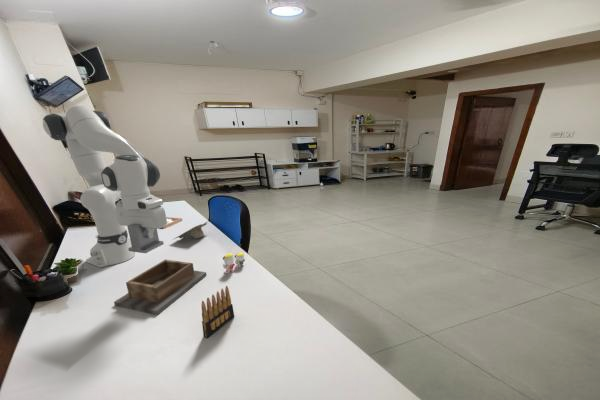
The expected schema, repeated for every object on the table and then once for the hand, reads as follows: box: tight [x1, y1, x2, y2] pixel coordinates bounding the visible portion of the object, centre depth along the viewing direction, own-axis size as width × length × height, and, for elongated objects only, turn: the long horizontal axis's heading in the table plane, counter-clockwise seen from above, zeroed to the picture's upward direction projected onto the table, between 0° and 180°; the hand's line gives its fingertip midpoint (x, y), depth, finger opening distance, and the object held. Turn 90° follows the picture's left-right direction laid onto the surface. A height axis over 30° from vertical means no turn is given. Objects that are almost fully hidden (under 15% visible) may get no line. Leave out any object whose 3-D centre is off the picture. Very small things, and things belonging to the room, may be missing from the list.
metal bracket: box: [126, 224, 165, 254], centre depth 93 cm, size 8×8×10 cm
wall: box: [173, 221, 209, 240], centre depth 151 cm, size 19×10×17 cm
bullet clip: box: [201, 285, 235, 339], centre depth 78 cm, size 11×2×12 cm, turn 147°
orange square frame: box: [161, 216, 183, 229], centre depth 182 cm, size 16×16×2 cm
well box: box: [113, 259, 207, 316], centre depth 100 cm, size 20×26×8 cm
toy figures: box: [222, 252, 246, 274], centre depth 114 cm, size 12×4×8 cm, turn 144°
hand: (144, 237), depth 94 cm, fingers closed on metal bracket, 4 cm apart
